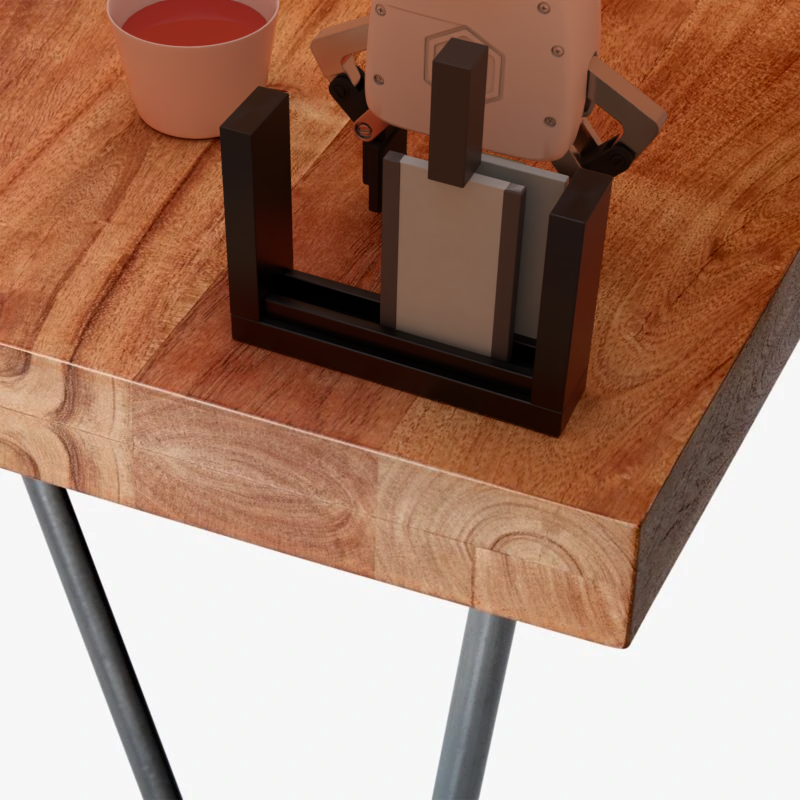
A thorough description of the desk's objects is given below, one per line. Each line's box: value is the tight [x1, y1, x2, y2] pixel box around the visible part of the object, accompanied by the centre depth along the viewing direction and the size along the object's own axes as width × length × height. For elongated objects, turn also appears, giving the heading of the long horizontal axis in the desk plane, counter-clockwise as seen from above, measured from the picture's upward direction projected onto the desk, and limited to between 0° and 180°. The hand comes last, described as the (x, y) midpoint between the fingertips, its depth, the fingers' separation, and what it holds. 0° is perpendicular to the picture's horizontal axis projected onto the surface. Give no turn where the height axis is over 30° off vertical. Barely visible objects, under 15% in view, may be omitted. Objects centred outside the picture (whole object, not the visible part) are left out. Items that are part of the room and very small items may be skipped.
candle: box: [105, 0, 280, 140], centre depth 89 cm, size 9×9×6 cm
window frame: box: [219, 86, 614, 438], centre depth 72 cm, size 16×4×12 cm, turn 67°
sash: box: [379, 37, 527, 362], centre depth 69 cm, size 6×2×15 cm, turn 67°
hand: (475, 221), depth 82 cm, fingers open, 9 cm apart
